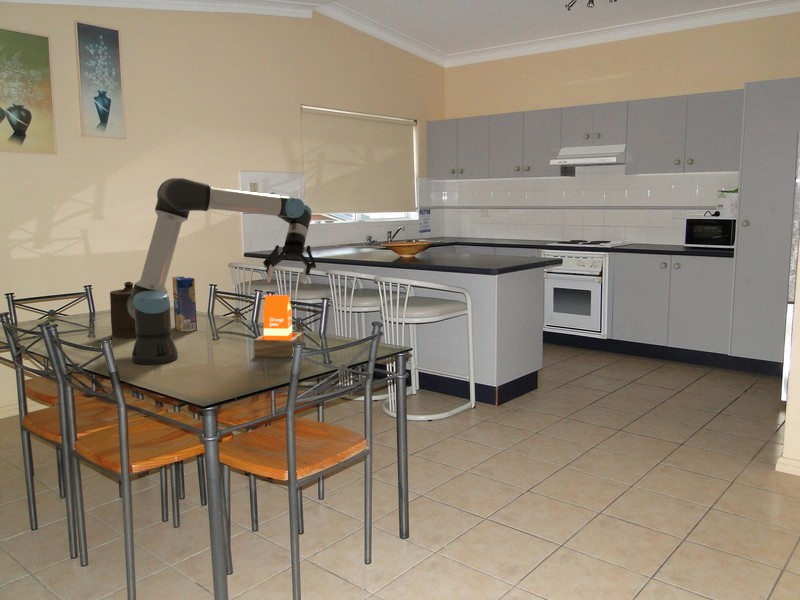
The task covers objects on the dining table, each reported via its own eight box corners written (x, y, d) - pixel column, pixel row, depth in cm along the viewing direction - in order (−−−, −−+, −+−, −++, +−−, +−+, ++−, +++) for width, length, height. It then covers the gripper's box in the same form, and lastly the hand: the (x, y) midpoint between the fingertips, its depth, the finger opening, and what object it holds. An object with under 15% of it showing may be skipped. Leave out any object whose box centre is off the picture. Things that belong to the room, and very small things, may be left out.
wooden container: (156, 331, 284) (153, 279, 280) (142, 338, 269) (138, 284, 266) (121, 331, 284) (118, 279, 281) (105, 338, 270) (101, 284, 266)
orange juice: (288, 352, 242) (286, 297, 239) (264, 351, 242) (262, 296, 239) (292, 347, 250) (291, 293, 247) (269, 346, 250) (267, 293, 247)
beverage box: (191, 326, 295) (188, 276, 291) (197, 330, 285) (194, 278, 282) (175, 327, 291) (172, 277, 288) (180, 332, 282) (177, 279, 278)
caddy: (292, 357, 238) (292, 341, 237) (254, 356, 240) (253, 340, 239) (304, 348, 253) (303, 332, 252) (268, 347, 254) (267, 331, 253)
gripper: (329, 244, 265) (320, 287, 252) (267, 243, 268) (256, 286, 256) (325, 231, 259) (316, 275, 246) (262, 231, 262) (250, 274, 250)
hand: (285, 281), depth 251 cm, fingers open, 13 cm apart
